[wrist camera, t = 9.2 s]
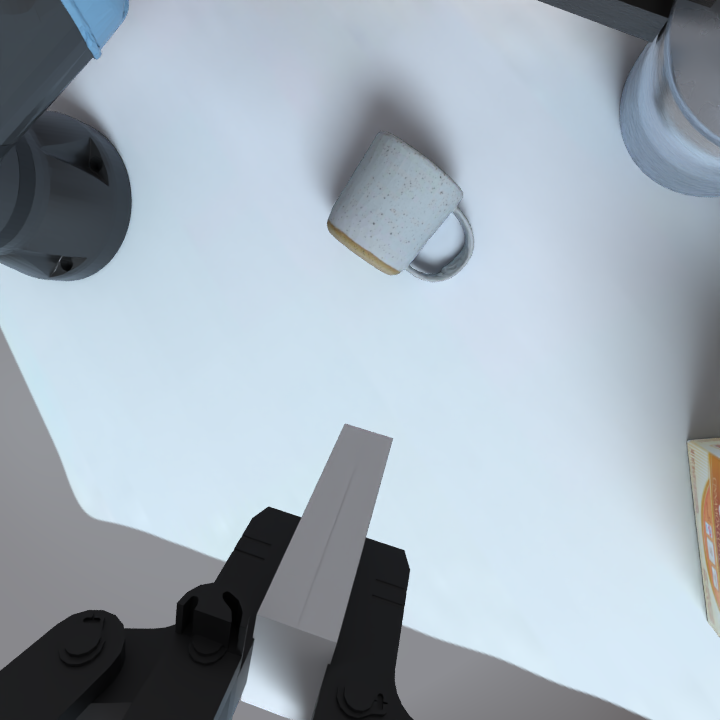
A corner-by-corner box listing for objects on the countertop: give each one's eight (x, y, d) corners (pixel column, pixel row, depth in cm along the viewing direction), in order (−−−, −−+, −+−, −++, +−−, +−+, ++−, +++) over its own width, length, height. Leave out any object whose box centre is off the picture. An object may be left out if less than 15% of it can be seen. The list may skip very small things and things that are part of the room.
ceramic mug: (334, 234, 41) (305, 218, 34) (390, 148, 39) (373, 112, 32) (434, 307, 40) (428, 308, 33) (497, 223, 38) (505, 203, 31)
